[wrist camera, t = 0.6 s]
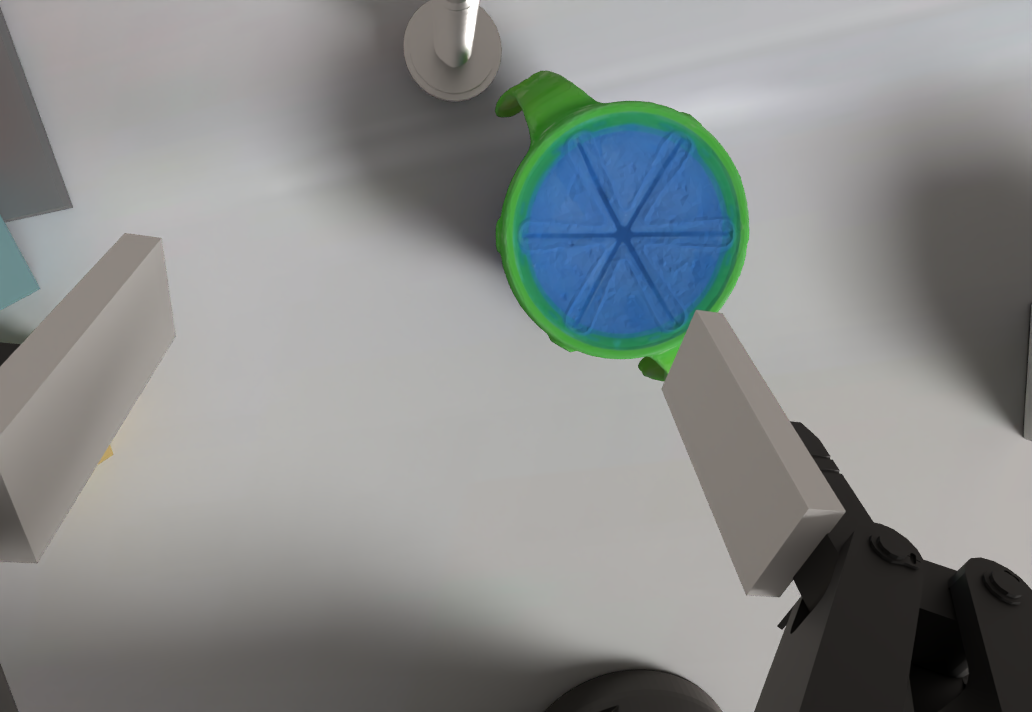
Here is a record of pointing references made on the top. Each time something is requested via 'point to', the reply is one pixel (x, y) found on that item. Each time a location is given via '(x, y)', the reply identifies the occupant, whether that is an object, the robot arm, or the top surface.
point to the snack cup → (618, 222)
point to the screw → (452, 49)
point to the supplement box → (1029, 392)
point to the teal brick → (13, 271)
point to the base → (24, 145)
